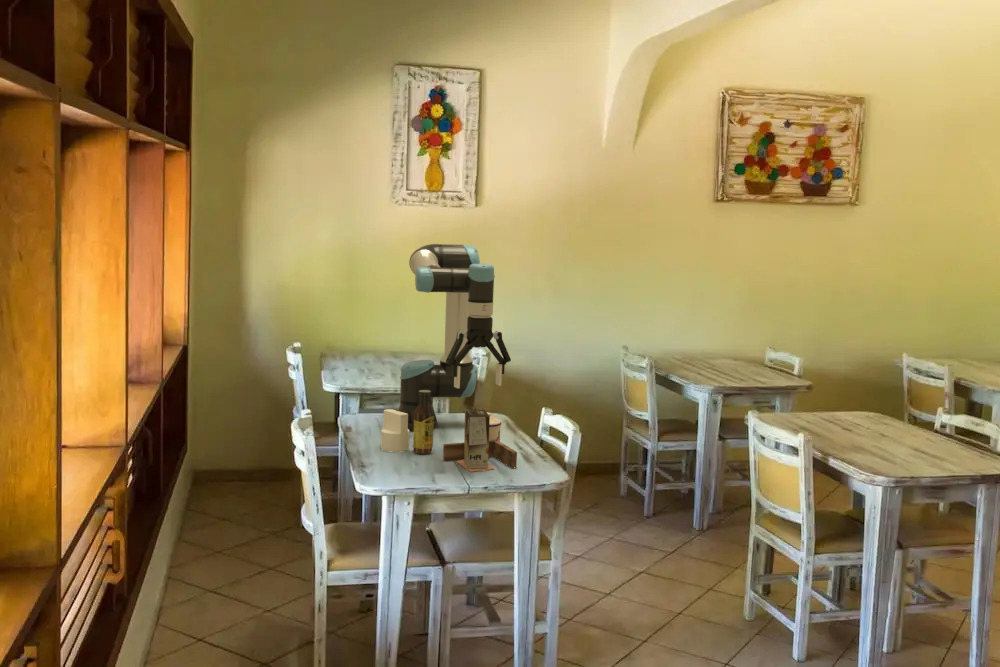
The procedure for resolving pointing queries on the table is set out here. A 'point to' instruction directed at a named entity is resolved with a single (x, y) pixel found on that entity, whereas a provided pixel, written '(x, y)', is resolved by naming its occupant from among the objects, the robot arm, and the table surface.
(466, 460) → the coffee box
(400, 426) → the base with upright slab
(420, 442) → the sauce bottle
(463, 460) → the terracotta mat
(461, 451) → the walnut corner walls
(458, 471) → the table surface
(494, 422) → the teacup with lid
